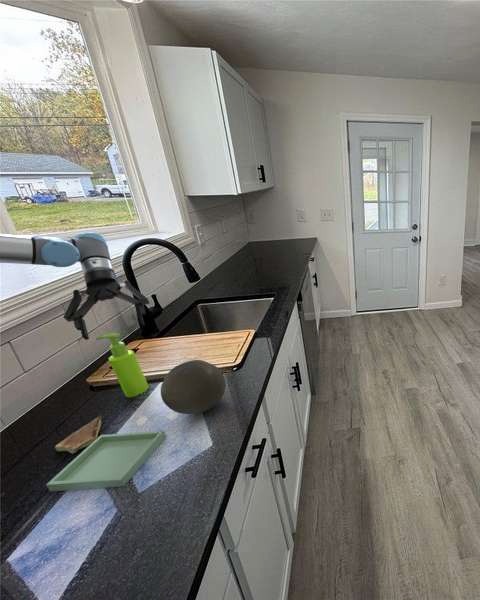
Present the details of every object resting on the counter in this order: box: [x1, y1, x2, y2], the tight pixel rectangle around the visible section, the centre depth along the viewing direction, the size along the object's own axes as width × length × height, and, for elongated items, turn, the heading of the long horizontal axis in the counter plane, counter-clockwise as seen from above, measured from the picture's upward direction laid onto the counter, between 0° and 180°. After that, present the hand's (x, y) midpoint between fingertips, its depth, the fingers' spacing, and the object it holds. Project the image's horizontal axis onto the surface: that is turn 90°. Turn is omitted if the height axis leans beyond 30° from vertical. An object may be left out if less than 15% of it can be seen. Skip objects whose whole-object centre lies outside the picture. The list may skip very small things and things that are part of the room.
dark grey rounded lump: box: [160, 359, 227, 415], centre depth 85 cm, size 14×14×15 cm
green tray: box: [45, 430, 167, 492], centre depth 72 cm, size 16×14×2 cm
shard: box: [54, 414, 102, 455], centre depth 80 cm, size 11×8×2 cm
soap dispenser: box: [95, 332, 150, 398], centre depth 94 cm, size 6×7×20 cm
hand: (115, 330), depth 97 cm, fingers open, 13 cm apart
